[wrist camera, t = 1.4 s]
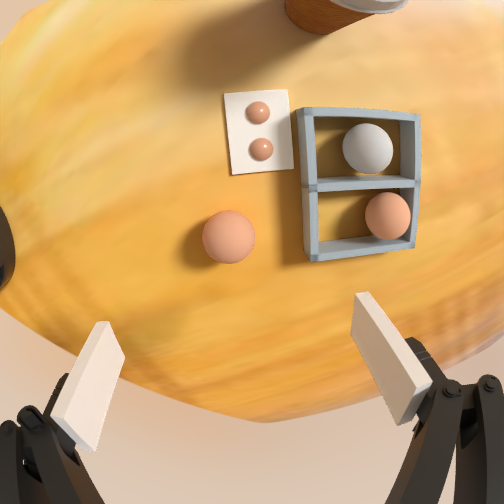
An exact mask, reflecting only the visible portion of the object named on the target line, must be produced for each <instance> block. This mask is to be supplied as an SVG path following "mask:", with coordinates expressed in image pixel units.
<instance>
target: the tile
mask: <svg viewBox="0 0 504 504" xmlns="http://www.w3.org/2000/svg"><path fill="white" fill-rule="evenodd" d="M224 100H225V110H226V119H227V129H228V138H229V148H230V157H231V166H232V175H234V174H243V173H252V172H263V171H274V170H286V169H294V161H293V146H292V133H291V121H290V110H289V99H288V89H281V90H260V91H247V92H235V93H226V94H224Z"/></svg>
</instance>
